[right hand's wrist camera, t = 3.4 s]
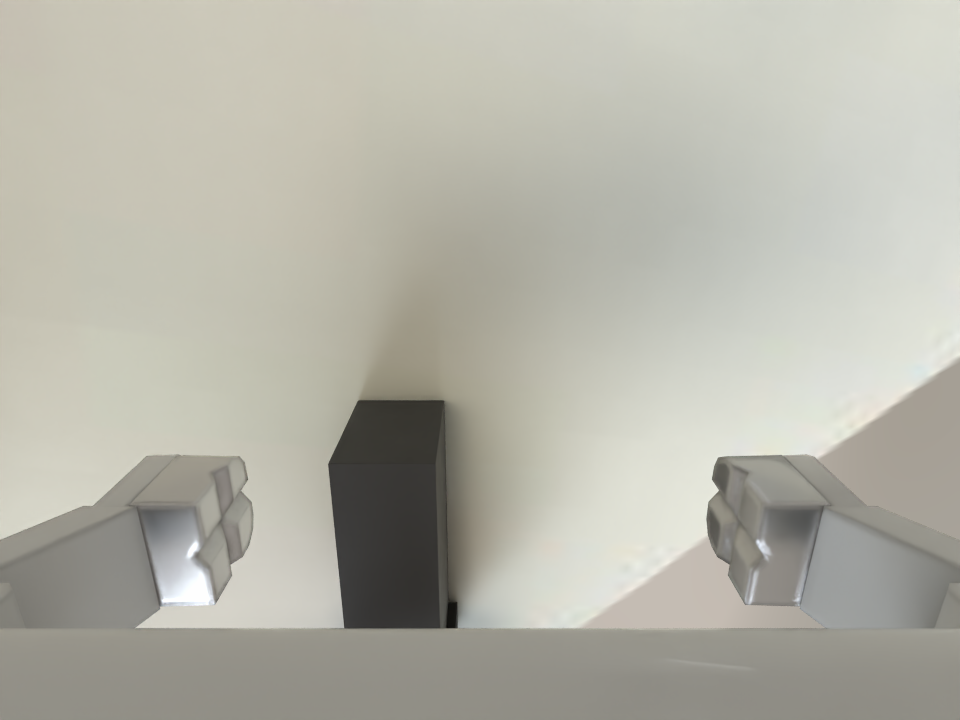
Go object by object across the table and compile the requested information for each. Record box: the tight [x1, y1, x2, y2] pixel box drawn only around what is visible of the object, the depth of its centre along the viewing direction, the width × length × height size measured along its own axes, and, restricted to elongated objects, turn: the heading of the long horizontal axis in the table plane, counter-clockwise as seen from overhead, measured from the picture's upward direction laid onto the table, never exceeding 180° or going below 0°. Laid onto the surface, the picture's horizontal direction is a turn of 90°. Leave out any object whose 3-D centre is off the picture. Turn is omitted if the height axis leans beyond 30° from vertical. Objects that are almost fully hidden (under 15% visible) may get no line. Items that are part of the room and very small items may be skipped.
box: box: [328, 401, 449, 628], centre depth 43 cm, size 23×6×9 cm, turn 0°
